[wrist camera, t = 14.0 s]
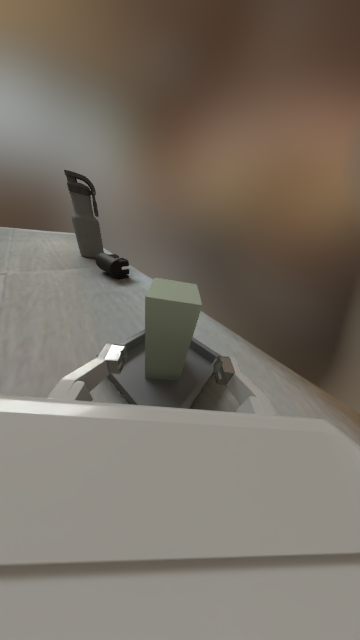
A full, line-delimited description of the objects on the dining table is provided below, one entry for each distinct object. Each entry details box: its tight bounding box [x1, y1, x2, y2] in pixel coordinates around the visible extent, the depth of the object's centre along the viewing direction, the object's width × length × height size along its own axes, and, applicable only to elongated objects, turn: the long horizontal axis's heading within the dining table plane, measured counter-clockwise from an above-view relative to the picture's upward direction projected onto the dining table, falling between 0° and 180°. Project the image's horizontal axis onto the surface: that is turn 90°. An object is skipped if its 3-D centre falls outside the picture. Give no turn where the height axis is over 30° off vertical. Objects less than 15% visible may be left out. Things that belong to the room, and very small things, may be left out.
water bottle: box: [64, 170, 104, 258], centre depth 56 cm, size 10×10×28 cm
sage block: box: [145, 278, 202, 381], centre depth 17 cm, size 5×5×13 cm
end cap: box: [96, 253, 129, 279], centre depth 48 cm, size 10×7×7 cm
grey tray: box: [96, 330, 221, 409], centre depth 21 cm, size 14×14×3 cm
